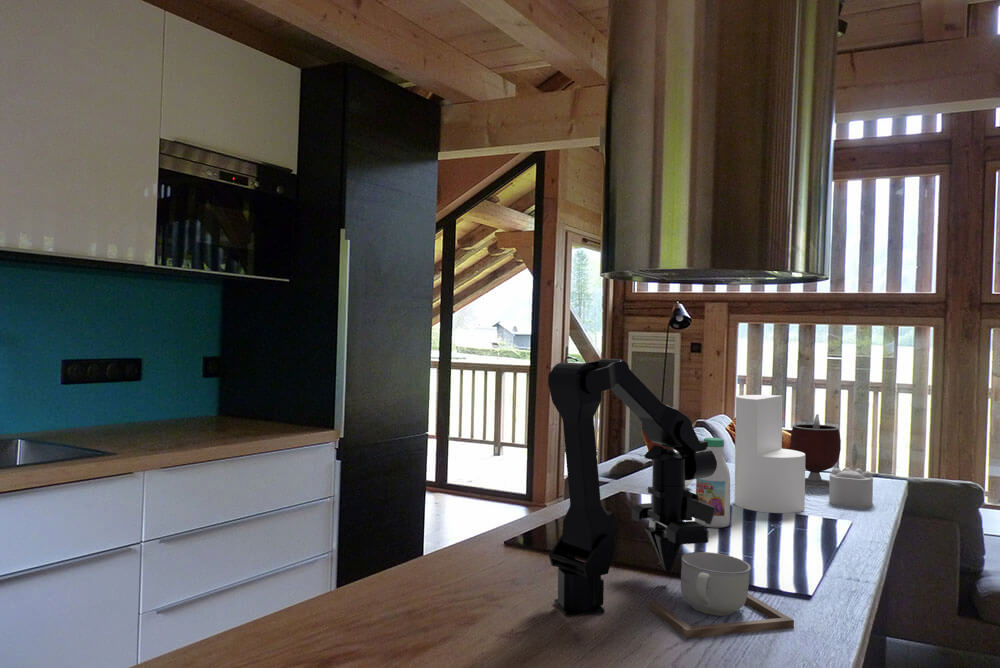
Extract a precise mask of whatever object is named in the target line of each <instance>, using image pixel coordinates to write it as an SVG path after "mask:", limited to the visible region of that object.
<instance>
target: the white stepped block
mask: <svg viewBox="0 0 1000 668" xmlns="http://www.w3.org/2000/svg"><path fill="white" fill-rule="evenodd" d="M734 430H735V434H734V435H735V438H734V440H735V441H734V451H735V452H734V455H735V456H734V501H733V502H734V505H735V506H736V507H739V508H741V509H745V510H749V511H755V512H762V513H768V514H769V513H770V514H771V513H773V514H793V513H799V512H803V511H804V510H805V507H806V504H805V503H806V500H805V499H806V498H805V497H806V487H805V478H806V469H805V453H803V452H799V451H795V450H791V449H788V448H783V395H777V394H776V395H775V394H741V395H740V394H739V395H736V396H735V429H734Z"/></svg>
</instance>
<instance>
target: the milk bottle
mask: <svg viewBox="0 0 1000 668" xmlns="http://www.w3.org/2000/svg"><path fill="white" fill-rule="evenodd" d="M703 441H707V442H708V448H709V449H710V450H711V451H712V452H713V454H714V456H715V458H716V460H717V468H716V470H715V472H714V474H712V475H711V476H709V477H704V478H699V479H695V480H696V481H695V494H696V495H698V496H699V501H701V502H703V503H706V504H708V505H710V506H713V507H715V508H716V510H715V513H714V516H713V519H712V522H711V524H707V523H705V521H702V520H699V519H696V518H695V522H697V523H699V524H701V525H703V526H705V527H706V528H707V527H708V528H716V529H717V528H727V527H729V526H730V524H731V523H730V522H731V473H730V468H729V466H728V464H727V461H726V459H725V456H724V449H725V448H724V446H725V439H723V438H720V437H705V438H703Z"/></svg>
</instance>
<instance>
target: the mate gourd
mask: <svg viewBox="0 0 1000 668" xmlns="http://www.w3.org/2000/svg"><path fill="white" fill-rule="evenodd" d="M819 416H820V415H819V414H815V416H814V419H813V423H798V424H792V428H791V433H790V445H789V446H790V450H795V451H799V452H803V453H805V471H808V472H809V474H808V477H805V488H813V489H829V482H830V479H829V480H828V479H825V478H824V479H823V478H822V476H821V473H822V472H824V471H827V470H829V469H834V466H835V465H836V464H837V463H838V462H839V459H840V455H841V450H842V447H841V446H842V444H841V443H842V440H841V433H840V428H839V427H837V426H835V425H834V426H833V425H826V424H820V423H821V422H820V421H821V420H820V417H819Z"/></svg>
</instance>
